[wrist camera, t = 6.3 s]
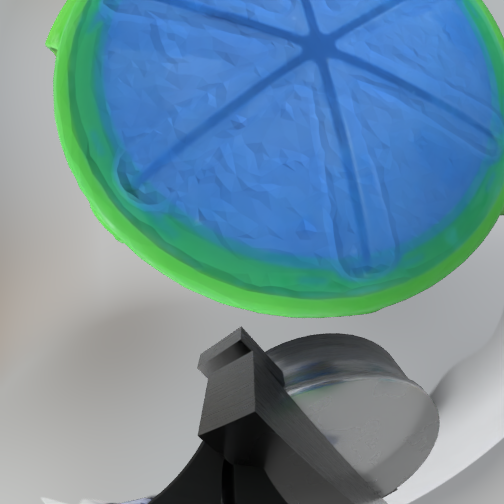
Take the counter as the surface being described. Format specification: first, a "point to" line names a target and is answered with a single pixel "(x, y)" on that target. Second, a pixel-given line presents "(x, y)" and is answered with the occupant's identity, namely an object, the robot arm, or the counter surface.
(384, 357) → the pot
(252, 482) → the robot arm
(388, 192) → the snack cup
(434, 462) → the counter surface
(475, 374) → the counter surface
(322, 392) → the lid
